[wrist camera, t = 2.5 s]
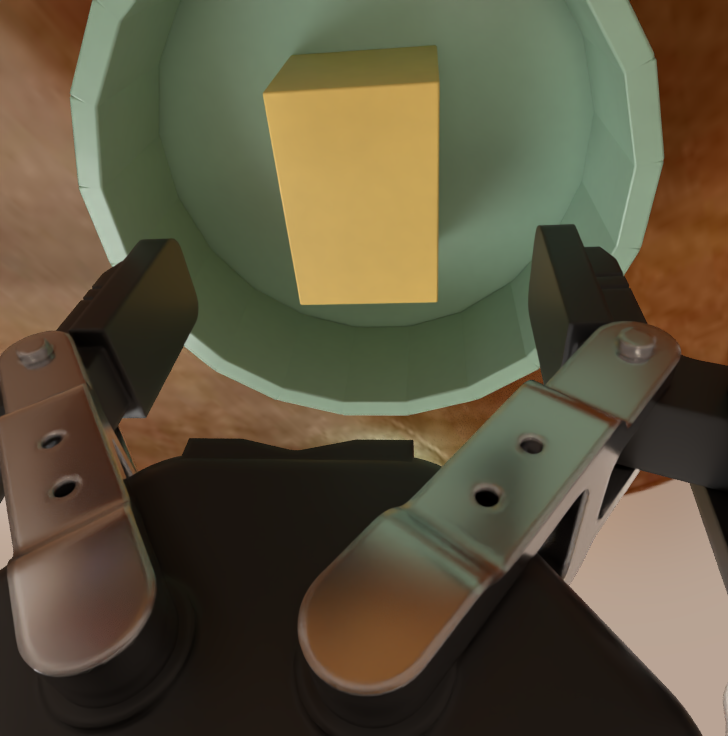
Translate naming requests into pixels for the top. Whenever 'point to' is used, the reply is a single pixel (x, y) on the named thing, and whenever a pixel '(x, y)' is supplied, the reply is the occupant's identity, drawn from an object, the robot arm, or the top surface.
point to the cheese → (359, 173)
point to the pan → (456, 177)
